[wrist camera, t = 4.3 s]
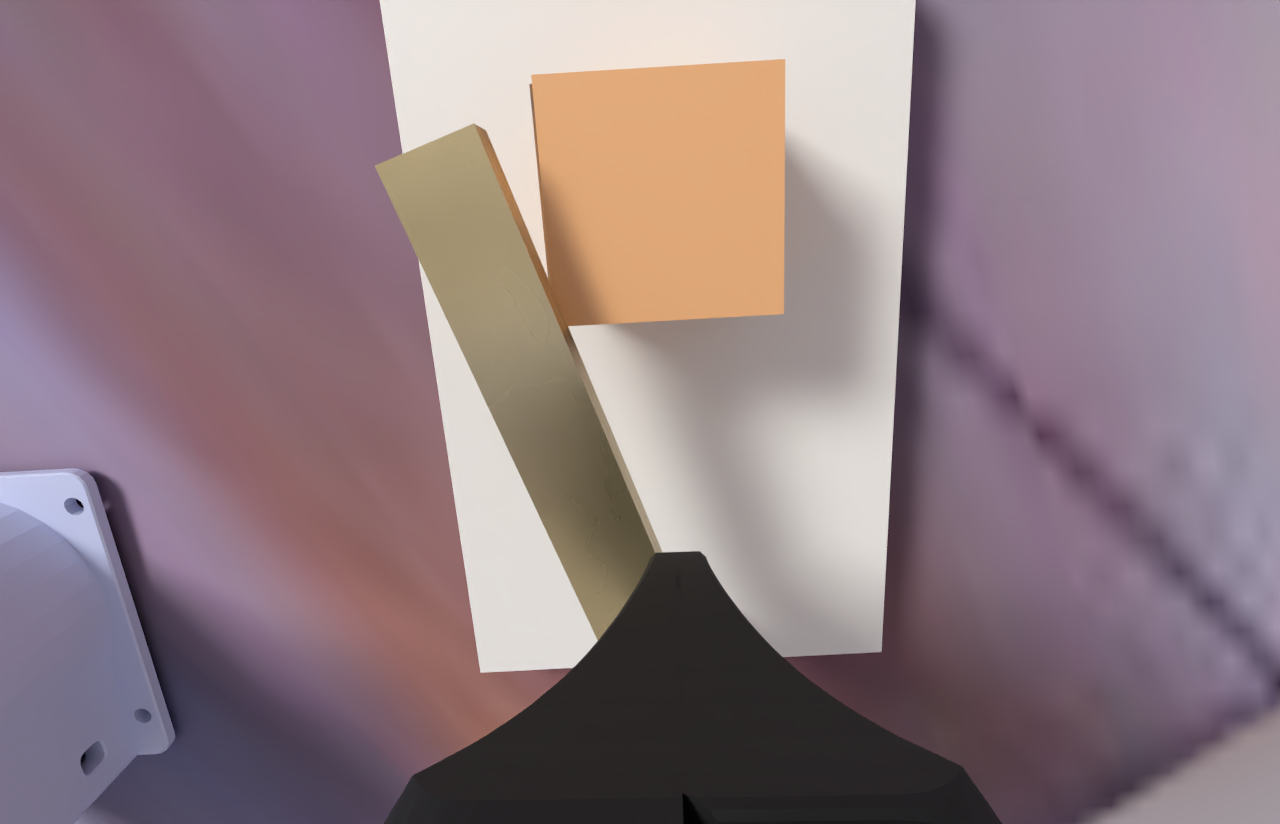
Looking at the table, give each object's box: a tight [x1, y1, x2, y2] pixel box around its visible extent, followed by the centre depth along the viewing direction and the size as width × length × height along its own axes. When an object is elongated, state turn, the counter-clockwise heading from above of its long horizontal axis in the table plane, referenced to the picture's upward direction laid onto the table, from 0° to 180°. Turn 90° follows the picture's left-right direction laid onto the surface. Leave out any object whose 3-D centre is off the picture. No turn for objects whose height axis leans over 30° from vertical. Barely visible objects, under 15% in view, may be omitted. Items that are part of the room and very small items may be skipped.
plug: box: [531, 59, 785, 326], centre depth 14 cm, size 4×4×6 cm
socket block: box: [380, 0, 916, 673], centre depth 15 cm, size 17×11×6 cm, turn 3°
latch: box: [375, 123, 662, 640], centre depth 12 cm, size 12×2×1 cm, turn 21°
